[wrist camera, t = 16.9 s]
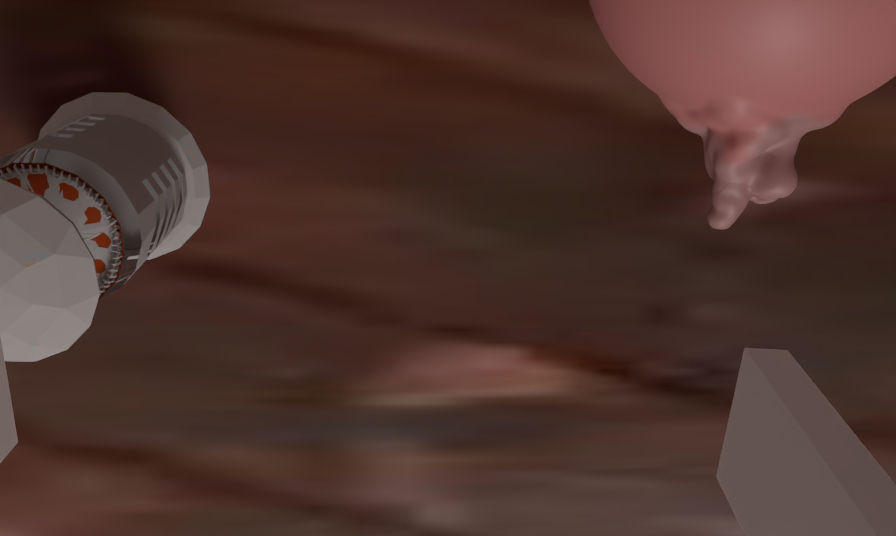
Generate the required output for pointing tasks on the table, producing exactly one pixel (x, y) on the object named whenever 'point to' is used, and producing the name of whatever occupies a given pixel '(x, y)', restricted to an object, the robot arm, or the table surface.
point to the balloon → (752, 77)
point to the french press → (90, 214)
